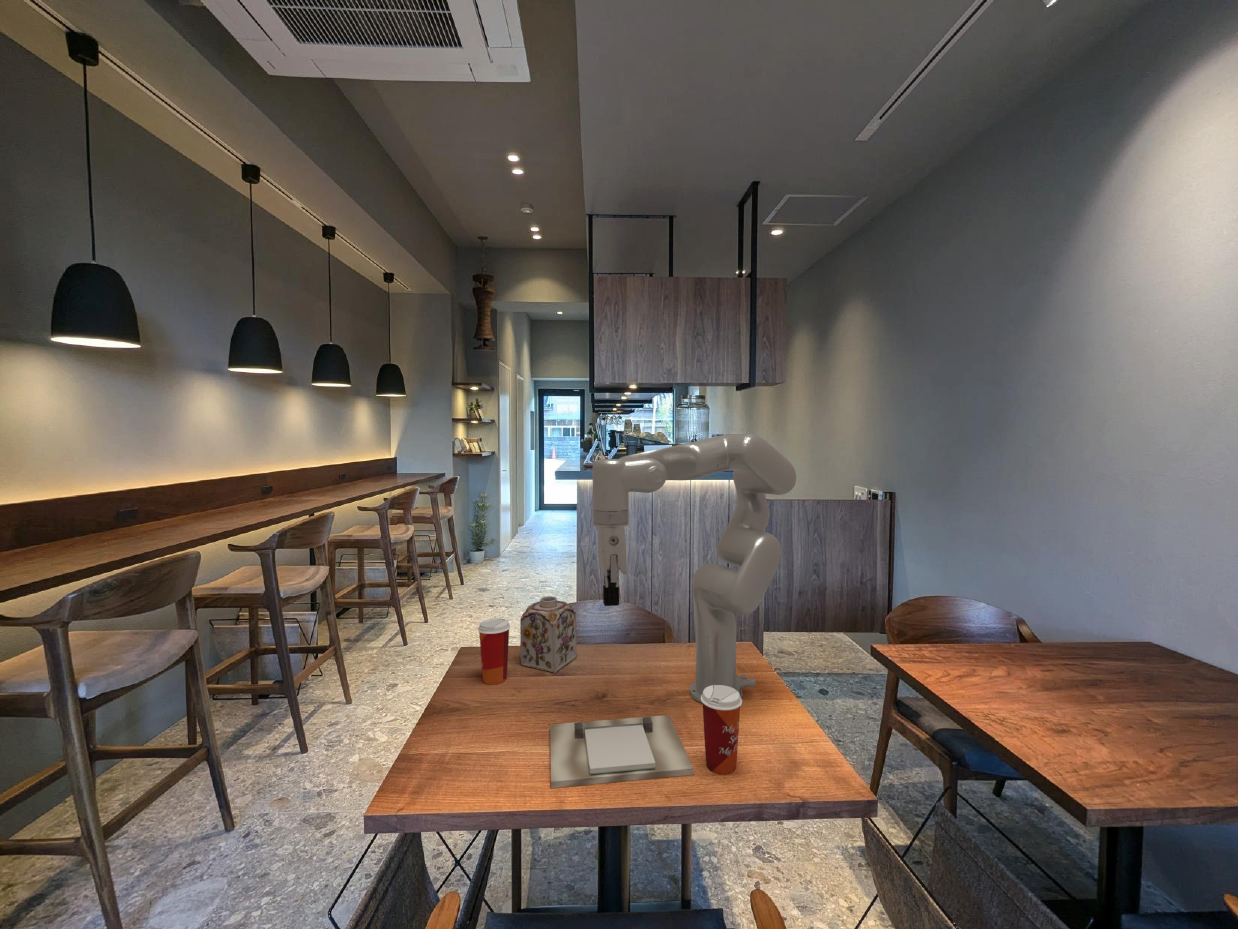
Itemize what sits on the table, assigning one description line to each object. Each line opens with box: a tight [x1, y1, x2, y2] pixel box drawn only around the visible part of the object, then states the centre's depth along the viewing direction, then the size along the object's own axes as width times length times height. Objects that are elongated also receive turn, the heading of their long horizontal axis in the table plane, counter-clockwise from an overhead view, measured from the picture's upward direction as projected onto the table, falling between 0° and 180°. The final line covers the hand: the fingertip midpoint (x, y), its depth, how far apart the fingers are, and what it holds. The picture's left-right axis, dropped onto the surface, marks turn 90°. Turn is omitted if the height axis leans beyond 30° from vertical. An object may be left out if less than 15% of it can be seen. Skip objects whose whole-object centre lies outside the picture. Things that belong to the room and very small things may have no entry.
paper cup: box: [701, 685, 743, 775], centre depth 98 cm, size 8×8×14 cm
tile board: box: [549, 714, 694, 789], centre depth 103 cm, size 26×19×3 cm
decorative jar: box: [519, 595, 578, 674], centre depth 145 cm, size 12×12×18 cm
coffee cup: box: [477, 617, 511, 686], centre depth 134 cm, size 8×8×15 cm
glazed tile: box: [584, 723, 655, 774], centre depth 101 cm, size 12×1×14 cm
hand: (611, 604), depth 110 cm, fingers closed
